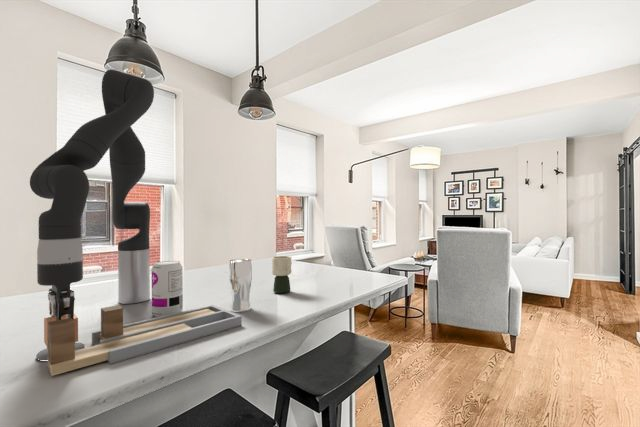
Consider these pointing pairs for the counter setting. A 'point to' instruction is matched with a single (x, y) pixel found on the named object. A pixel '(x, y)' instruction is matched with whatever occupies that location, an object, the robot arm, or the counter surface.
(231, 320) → the lane frame
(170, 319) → the oak strip
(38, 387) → the counter surface
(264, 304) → the counter surface
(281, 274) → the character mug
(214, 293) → the counter surface
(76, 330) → the rust cube
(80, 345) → the slate coaster
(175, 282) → the supplement can
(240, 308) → the beer glass
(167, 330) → the oak strip
